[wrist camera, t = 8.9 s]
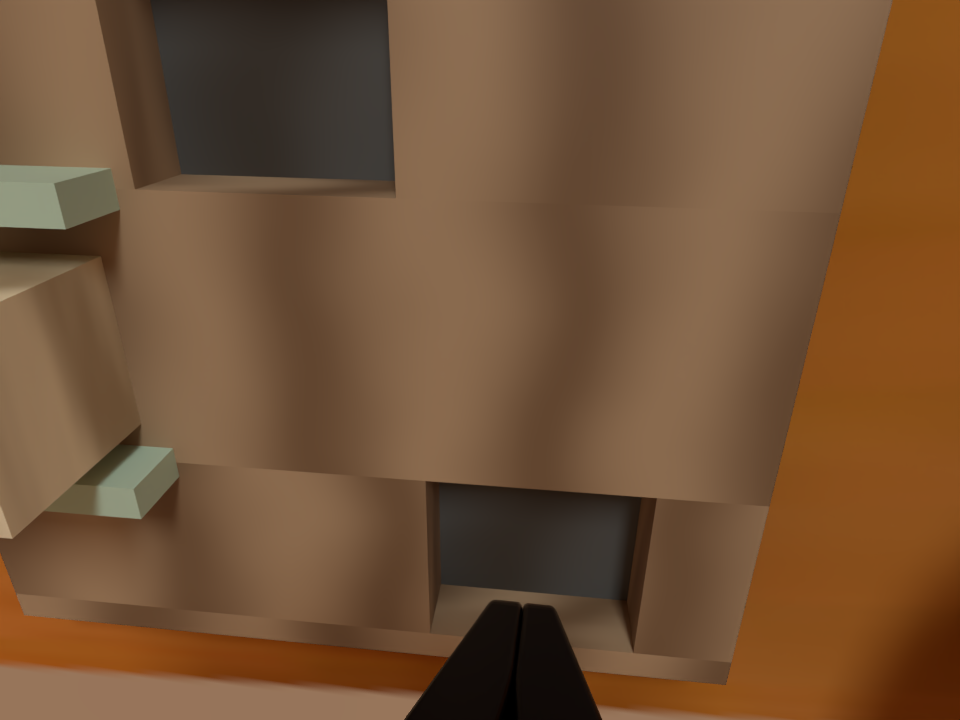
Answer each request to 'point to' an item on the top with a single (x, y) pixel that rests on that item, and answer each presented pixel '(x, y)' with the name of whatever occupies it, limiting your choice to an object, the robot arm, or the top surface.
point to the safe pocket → (61, 205)
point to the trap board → (444, 305)
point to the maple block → (56, 380)
